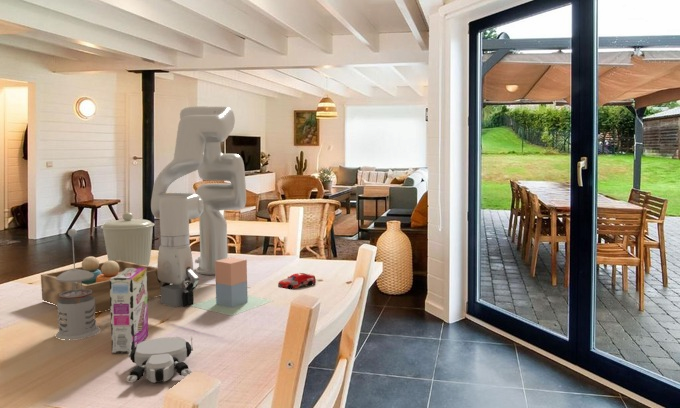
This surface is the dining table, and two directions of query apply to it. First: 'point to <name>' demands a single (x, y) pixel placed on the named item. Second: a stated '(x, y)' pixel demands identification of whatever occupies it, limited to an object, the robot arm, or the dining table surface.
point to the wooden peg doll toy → (92, 266)
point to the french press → (76, 305)
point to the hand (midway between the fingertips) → (177, 303)
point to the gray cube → (172, 295)
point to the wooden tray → (95, 286)
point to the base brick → (231, 294)
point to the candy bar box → (128, 309)
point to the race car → (297, 281)
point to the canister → (128, 239)
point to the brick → (231, 271)
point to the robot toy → (160, 359)
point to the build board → (230, 311)
